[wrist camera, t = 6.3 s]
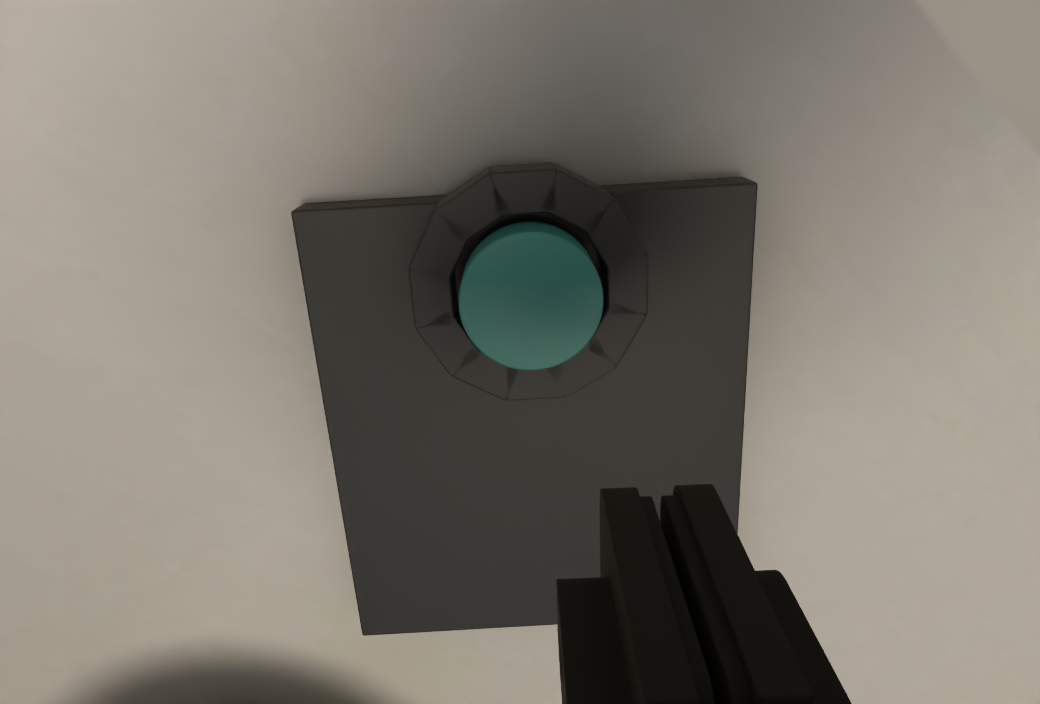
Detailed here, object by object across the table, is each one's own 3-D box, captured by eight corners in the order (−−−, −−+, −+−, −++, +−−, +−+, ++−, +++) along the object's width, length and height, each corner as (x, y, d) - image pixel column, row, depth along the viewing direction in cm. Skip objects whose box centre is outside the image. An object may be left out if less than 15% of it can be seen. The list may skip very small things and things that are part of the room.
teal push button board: (297, 173, 23) (267, 186, 20) (745, 145, 23) (779, 154, 20) (368, 610, 29) (353, 668, 26) (723, 590, 29) (746, 646, 26)
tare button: (455, 225, 21) (452, 236, 19) (595, 216, 21) (602, 227, 19) (467, 356, 22) (464, 375, 21) (598, 348, 22) (604, 367, 21)
